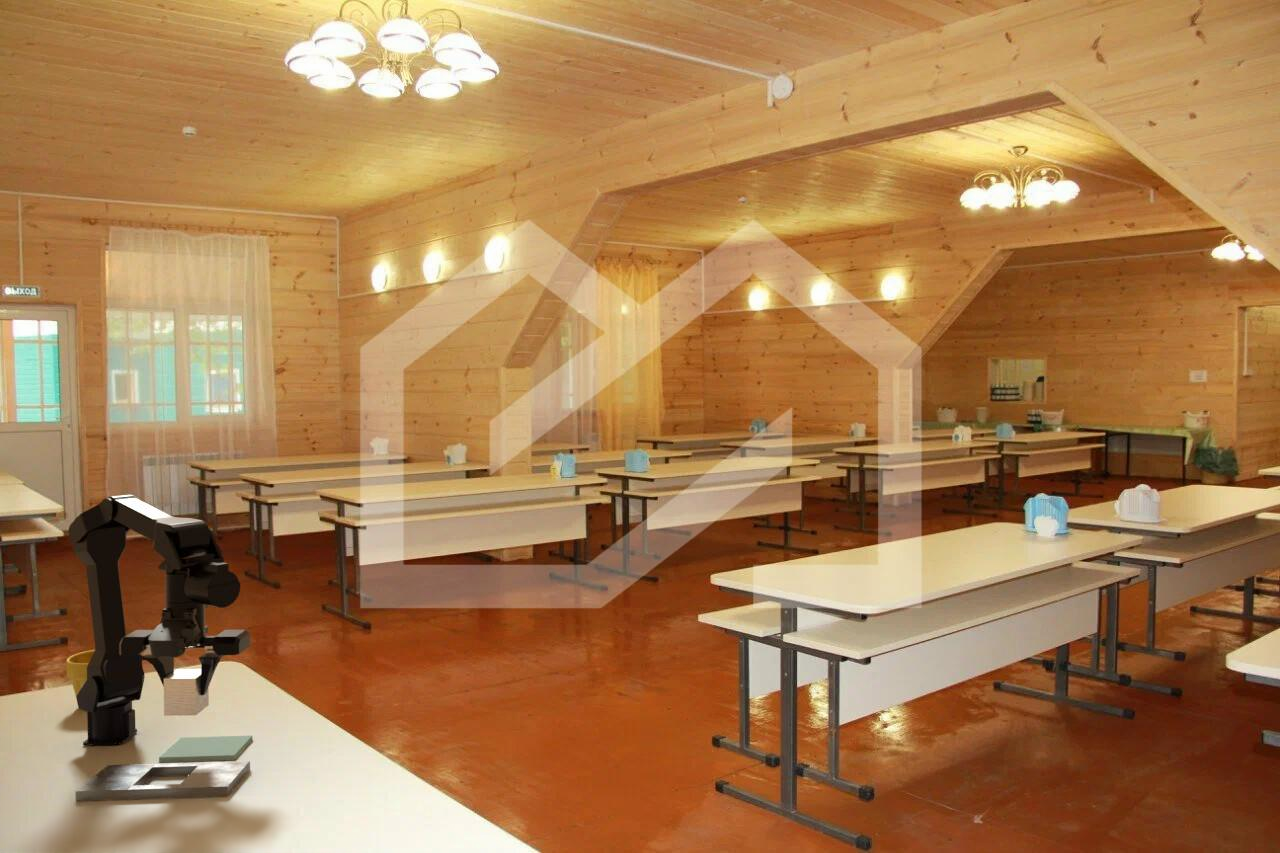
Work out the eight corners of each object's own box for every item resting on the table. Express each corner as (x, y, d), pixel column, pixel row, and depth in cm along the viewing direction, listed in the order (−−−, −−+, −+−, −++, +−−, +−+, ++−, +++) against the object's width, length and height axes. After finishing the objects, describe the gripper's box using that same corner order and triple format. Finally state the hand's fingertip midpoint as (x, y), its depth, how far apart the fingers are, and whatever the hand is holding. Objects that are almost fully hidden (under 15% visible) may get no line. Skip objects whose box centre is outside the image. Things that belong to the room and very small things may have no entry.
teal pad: (159, 762, 158) (159, 757, 158) (181, 742, 167) (181, 737, 167) (234, 759, 159) (234, 755, 159) (252, 740, 168) (252, 735, 168)
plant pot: (110, 714, 181) (108, 663, 181) (55, 714, 182) (54, 663, 181) (139, 696, 192) (138, 648, 191) (87, 696, 192) (86, 648, 191)
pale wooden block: (164, 715, 153) (163, 678, 153) (177, 705, 158) (177, 669, 158) (196, 715, 154) (195, 678, 153) (208, 704, 159) (208, 669, 158)
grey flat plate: (75, 801, 143) (75, 791, 143) (108, 774, 153) (107, 765, 153) (227, 796, 145) (227, 786, 145) (250, 769, 155) (249, 760, 154)
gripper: (100, 611, 147) (102, 712, 148) (225, 611, 148) (226, 711, 148) (135, 595, 158) (136, 688, 159) (251, 595, 159) (252, 688, 160)
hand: (186, 694), depth 156 cm, fingers closed on pale wooden block, 5 cm apart
